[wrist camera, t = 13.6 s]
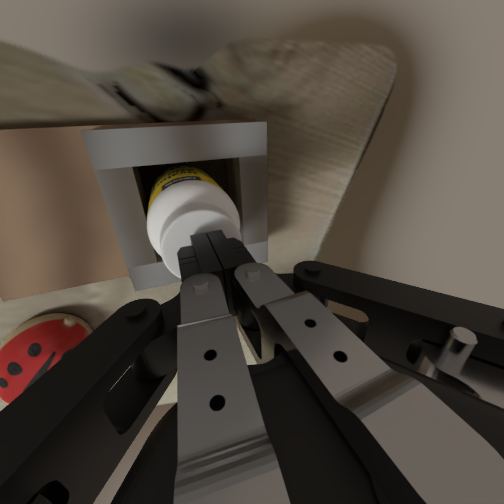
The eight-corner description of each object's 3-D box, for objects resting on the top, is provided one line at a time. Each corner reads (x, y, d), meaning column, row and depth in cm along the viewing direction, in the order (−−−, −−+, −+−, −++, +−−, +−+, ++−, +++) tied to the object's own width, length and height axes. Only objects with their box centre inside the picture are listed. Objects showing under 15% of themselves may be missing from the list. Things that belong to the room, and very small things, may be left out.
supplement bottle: (189, 148, 18) (216, 168, 10) (229, 202, 21) (274, 252, 13) (133, 192, 18) (116, 246, 10) (181, 240, 21) (197, 312, 13)
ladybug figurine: (-15, 381, 22) (-42, 422, 19) (23, 295, 19) (-1, 326, 16) (72, 387, 25) (61, 423, 22) (112, 316, 23) (106, 344, 20)
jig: (11, 291, 19) (-20, 328, 15) (-92, 133, 13) (-174, 137, 10) (254, 244, 24) (270, 263, 21) (249, 118, 19) (269, 117, 16)
